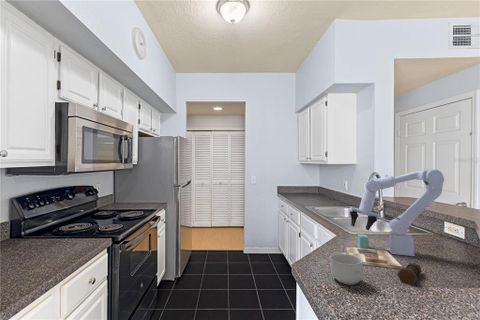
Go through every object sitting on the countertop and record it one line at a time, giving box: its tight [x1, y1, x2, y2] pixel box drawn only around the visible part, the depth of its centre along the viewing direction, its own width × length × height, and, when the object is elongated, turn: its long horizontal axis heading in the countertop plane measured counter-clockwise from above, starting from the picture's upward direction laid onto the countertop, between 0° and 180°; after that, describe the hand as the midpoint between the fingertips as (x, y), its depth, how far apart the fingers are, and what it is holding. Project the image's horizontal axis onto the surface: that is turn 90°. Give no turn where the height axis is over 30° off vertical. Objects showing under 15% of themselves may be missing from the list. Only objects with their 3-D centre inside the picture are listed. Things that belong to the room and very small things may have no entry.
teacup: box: [329, 252, 364, 286], centre depth 86 cm, size 14×11×8 cm
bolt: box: [397, 262, 422, 286], centre depth 88 cm, size 6×5×15 cm
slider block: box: [357, 234, 370, 249], centre depth 123 cm, size 4×5×6 cm
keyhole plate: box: [345, 246, 403, 270], centre depth 108 cm, size 18×20×2 cm
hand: (359, 227), depth 124 cm, fingers open, 7 cm apart
